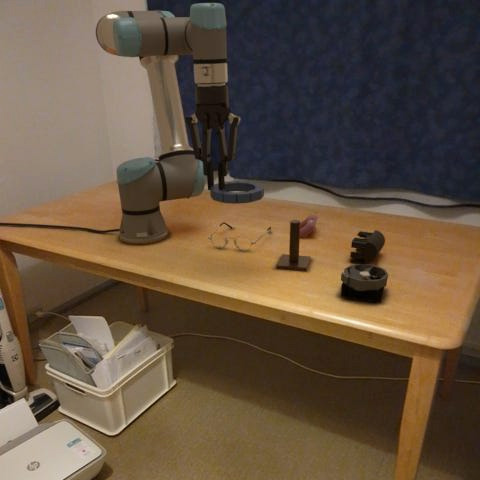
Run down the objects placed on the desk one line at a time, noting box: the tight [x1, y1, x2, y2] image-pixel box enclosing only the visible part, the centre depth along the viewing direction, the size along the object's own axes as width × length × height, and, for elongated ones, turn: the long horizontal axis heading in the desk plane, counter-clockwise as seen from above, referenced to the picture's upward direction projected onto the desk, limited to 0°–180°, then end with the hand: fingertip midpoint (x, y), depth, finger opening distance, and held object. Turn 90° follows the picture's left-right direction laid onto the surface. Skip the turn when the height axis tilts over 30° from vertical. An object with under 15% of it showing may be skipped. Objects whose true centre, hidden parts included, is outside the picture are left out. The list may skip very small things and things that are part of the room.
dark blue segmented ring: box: [209, 180, 265, 205], centre depth 119 cm, size 13×13×2 cm
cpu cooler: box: [340, 263, 389, 304], centre depth 113 cm, size 10×6×10 cm
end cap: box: [349, 229, 386, 265], centre depth 131 cm, size 10×7×7 cm
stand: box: [276, 219, 312, 272], centre depth 128 cm, size 8×8×12 cm
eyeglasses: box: [208, 221, 272, 252], centre depth 147 cm, size 16×19×5 cm
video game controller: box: [300, 213, 319, 239], centre depth 150 cm, size 10×5×7 cm, turn 169°
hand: (216, 188), depth 120 cm, fingers closed on dark blue segmented ring, 2 cm apart
